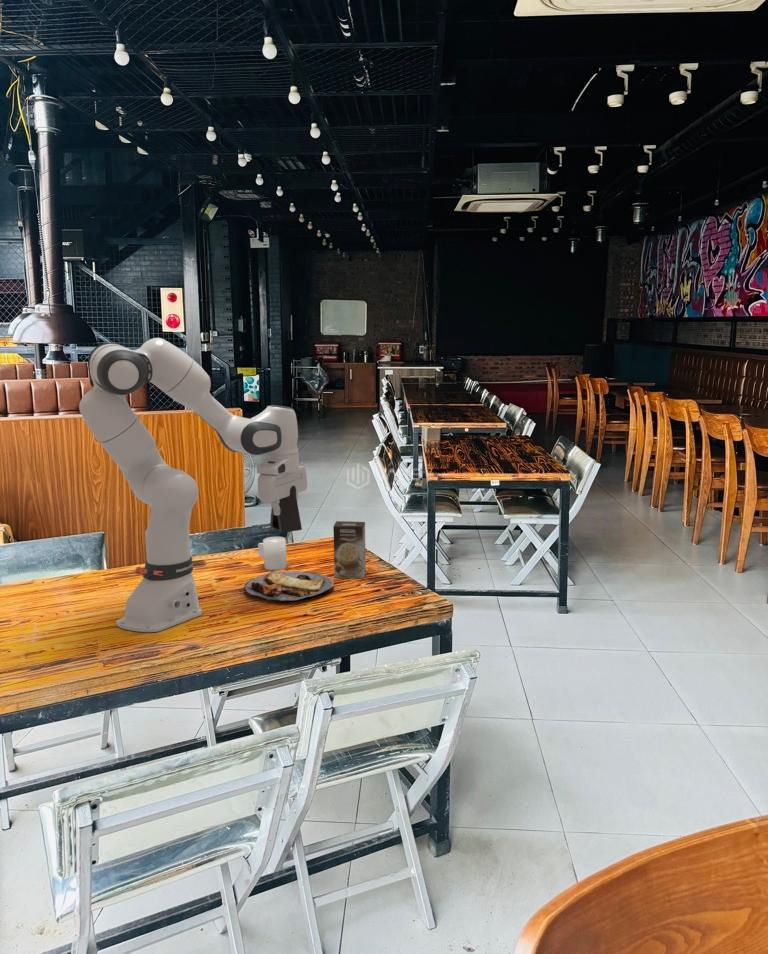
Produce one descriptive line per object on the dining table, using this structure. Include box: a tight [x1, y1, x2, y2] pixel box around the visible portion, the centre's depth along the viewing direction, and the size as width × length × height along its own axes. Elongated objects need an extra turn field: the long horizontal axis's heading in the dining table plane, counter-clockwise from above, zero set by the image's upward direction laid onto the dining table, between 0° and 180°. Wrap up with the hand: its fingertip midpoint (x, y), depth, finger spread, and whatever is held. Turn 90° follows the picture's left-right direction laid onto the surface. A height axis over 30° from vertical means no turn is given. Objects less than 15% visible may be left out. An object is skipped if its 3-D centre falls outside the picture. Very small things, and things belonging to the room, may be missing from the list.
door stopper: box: [269, 486, 303, 534], centre depth 212 cm, size 9×6×12 cm, turn 29°
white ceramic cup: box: [257, 536, 288, 571], centre depth 239 cm, size 7×9×9 cm
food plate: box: [243, 570, 334, 601], centre depth 217 cm, size 25×23×4 cm
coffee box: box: [332, 520, 367, 579], centre depth 228 cm, size 9×6×16 cm
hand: (284, 512), depth 213 cm, fingers closed on door stopper, 6 cm apart
